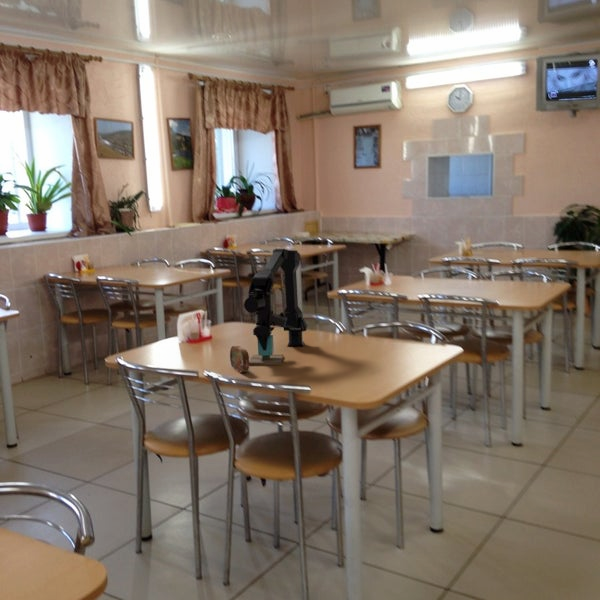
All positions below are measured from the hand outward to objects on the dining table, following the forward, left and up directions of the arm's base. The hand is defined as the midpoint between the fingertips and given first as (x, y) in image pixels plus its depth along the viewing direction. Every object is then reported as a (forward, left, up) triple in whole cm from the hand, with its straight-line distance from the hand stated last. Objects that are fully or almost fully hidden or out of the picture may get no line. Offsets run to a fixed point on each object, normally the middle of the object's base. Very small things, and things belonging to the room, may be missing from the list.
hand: (265, 348), depth 265 cm
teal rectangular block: (0, 0, -2) cm, 2 cm away
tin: (+12, -8, -5) cm, 15 cm away
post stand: (0, 0, -5) cm, 5 cm away
